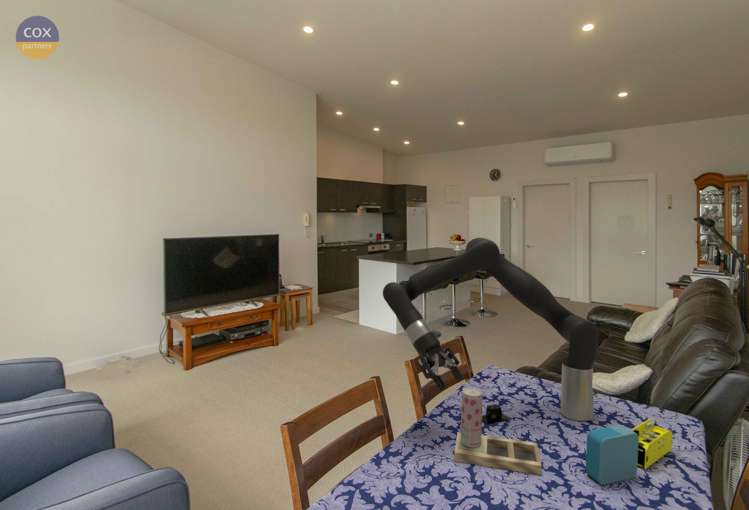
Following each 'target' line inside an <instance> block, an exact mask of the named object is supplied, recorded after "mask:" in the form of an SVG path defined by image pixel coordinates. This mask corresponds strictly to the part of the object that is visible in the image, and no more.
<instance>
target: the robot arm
mask: <svg viewBox="0 0 749 510" xmlns="http://www.w3.org/2000/svg"><path fill="white" fill-rule="evenodd" d="M480 270H483V271H484V272H486V273H487V274H488V275H490V276H492V277H493V279H495V280H496V281H497V282H498V283H499V284H500V285H501V286H502V288H503V289H504V290H505V291H507V292H508V293H509V294H510V295H512V297H513V298H515V300H517V301H518V302H520V303H521V304H522V305H523V306H524V307H526V308H527V309H528V310H530V311H531V312H533V313H534V314H536V315H537V316H538V317H541V318H542V319H543V320H544V321H546V322H547V323H548V324H549V325H550V326H551V327H552V328H553V329H554V330H555V331H556V332H557V333H558V334H559V335H560V336H561V337H562V339H564V340H565V341H567V342H568V345H569V346H568V352H565V353H563V355H562V357H561V359H562V361H561V384H560V386H561V389H560V405H559V406H560V414H561V415H562V416H563V417H565V418H567V419H569V420H572V421H578V422H587V421H594V420H593V419H594V400H595V393H594V390H593V381H594V380H593V376H594V363H595V362H596V359H597V356H598V355H597V354H598V346H599V331H598V328H597V326H596V324H595V323H593V322H592V321H590V320H588V319H586V318H583V317H581V316H579V315H577V314H575V313H573V312H571V311H570V310H569V309H567V308H566V307H565V306H563V305H562V304H561V303H559V301H557V299H556V297H555V296H554V295H553V293H552V292H551V291H550V289H548V287H546V285H544V283H542V281H540V280H538V279H537V278H536V277H535V276H533V275H532V274H531V273H529V272H528V271H526V270H524V269H523V268H522V267H520V266H517V265H516V264H514V263H513V262H511V261H510V260H508V259H507V258H506V257H505V256H503V254H502V253H501V252H500V248H499V246H498V244H496V243H495V242H494V241H493V240H491V239H489V238H488V239H487V238H485V237H476V238H473V239H470V241H468V242H467V244H466V246H465V251H464V252H463V253H461V254H460V255H458V256H456V257H454V258H451V259H449V260H446V261H442V262H439V263H436V264H433V265H431V266H428V267H426V268H424V269H422V270H420V271H417V272H415V273H413V274H412V275H410V276H409V278H408V279H407V281H406V282H404V283H403V284H400V283H399V282H395V281H394V282H393V281H391V282H389V283H386V284H385V286H384V287H383V289H382V297H383V299H384V301H385V302H386V304H387V305H388V307H389V308H390V310H392V312H393V313H394V315H395V316H396V318H397V320H398V322H399V324H400V325H401V327H402V328H403V330H404V331H405V333H406V336H407V338H408V340H409V341H410V343H411V344H412V346H413V348H414V349H415V351H416V352H417V354H418V356H419V358H418V359H417V360H416V364H417V365H418V367H419V369H420V370H421V373H422V374H423V376H424V378H425V379H427V380H429V379H431V380H433V381H434V383H435V385H436V387H437V388H438V389H439V391H443V390H445V389H446V388H447V384H446V383H445V381H444V379H443V378H442V377H441V375H440V374H439V368H442V367H443V368H445V369H448V370H450V372H451V374H452V376H453V377H454V379H455V380H456V382H458V383H460V382H461V381H463V380H464V376H463V374H462V372H461V371H460V370H459V368H458V365H459V364H460V363H461V362H460V360H459V359H458V358H457V356H456V355H455V354H454V352H453V351H452V350H451V348H450V347H448V346H447V347H445V349H442V348H441V341H440V339H438V337H437V335H436V334H435V332H434V331H433V329H432V327H430V324H428V322H427V321H426V320H425V318H424V317H423V316H422V314H421V312H420V311H419V309H417V308H416V306H415V305H414V303H413V302H412V301H414V300H415V299H417V298H418V297H420V296H421V295H423V294H426V293H427V292H429V291H432V290H433V289H436V288H438V287H440V286H442V285H444V284H446V283H448V282H450V281H453V280H455V279H457V278H459V277H461V276H465V275H467V274H470V273H472V272H476V271H480Z"/></svg>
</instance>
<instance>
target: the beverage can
mask: <svg viewBox="0 0 749 510" xmlns="http://www.w3.org/2000/svg"><path fill="white" fill-rule="evenodd" d="M460 411H461V413H460V415H461V417H460V432H461V442H462V444H463V445H465V446H467V447H470V448H476V447H479V446H480V445H481V438H482V435H483V434H482V431H483V428H482V427H483V426H482V425H483V424H482V423H483V422H482V416H483V392H482V391H481V390H480V389H479V388H477V387H466V388H463V389H462V393H461V408H460Z"/></svg>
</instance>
